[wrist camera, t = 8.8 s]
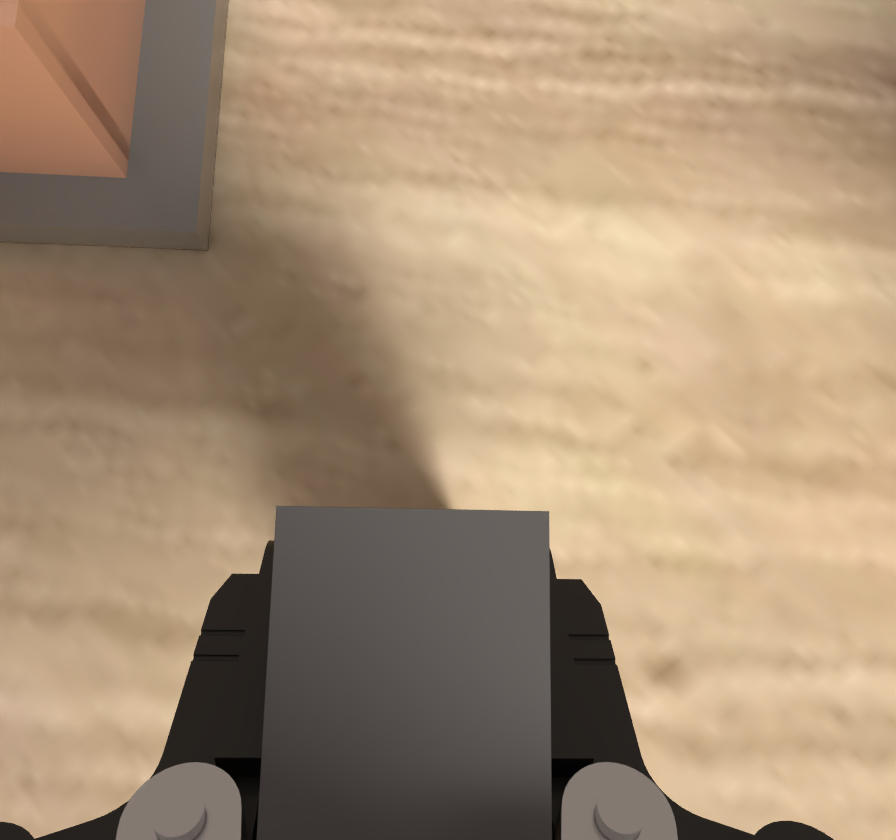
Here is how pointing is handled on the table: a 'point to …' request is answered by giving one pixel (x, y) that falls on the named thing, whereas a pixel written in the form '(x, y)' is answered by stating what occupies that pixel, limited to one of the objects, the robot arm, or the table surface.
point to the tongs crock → (109, 121)
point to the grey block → (408, 676)
